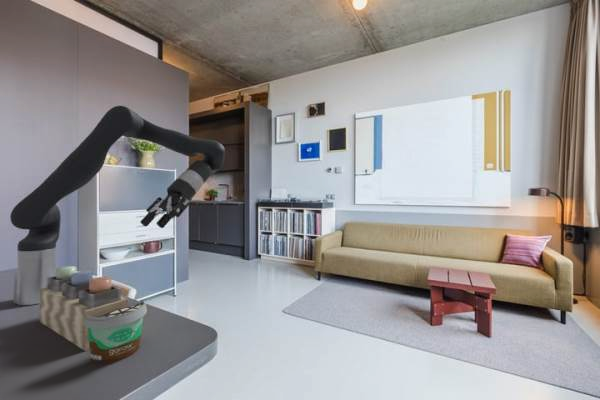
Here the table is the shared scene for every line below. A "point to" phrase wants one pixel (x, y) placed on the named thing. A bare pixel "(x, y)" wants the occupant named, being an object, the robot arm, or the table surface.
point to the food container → (115, 333)
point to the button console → (75, 308)
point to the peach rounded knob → (99, 285)
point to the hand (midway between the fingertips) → (150, 225)
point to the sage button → (65, 272)
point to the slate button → (81, 278)
